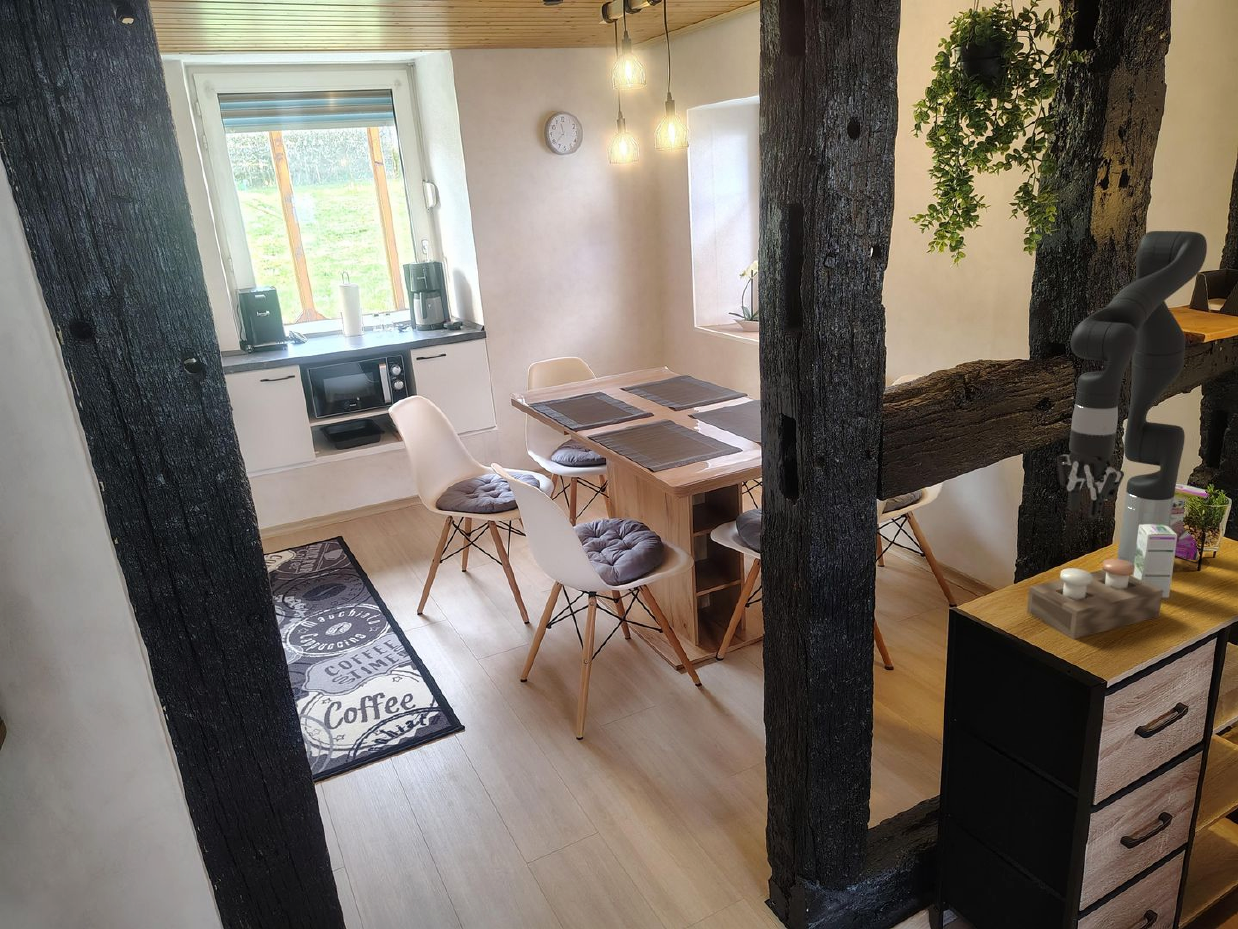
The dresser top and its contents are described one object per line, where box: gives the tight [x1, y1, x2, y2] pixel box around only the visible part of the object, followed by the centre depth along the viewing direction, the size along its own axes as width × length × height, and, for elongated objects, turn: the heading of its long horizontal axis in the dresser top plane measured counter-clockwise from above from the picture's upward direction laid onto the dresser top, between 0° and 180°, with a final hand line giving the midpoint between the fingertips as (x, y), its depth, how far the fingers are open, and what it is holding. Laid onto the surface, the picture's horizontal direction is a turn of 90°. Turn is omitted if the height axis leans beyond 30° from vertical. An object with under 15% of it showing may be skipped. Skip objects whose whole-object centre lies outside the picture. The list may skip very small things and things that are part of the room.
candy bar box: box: [1170, 482, 1211, 560], centre depth 199 cm, size 11×5×16 cm, turn 33°
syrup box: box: [1132, 524, 1177, 599], centre depth 182 cm, size 6×6×14 cm
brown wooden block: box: [1026, 569, 1163, 640], centre depth 175 cm, size 22×12×6 cm, turn 109°
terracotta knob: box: [1102, 558, 1135, 590], centre depth 175 cm, size 6×6×7 cm
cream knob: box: [1059, 567, 1092, 601], centre depth 172 cm, size 6×6×7 cm
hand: (1083, 512), depth 167 cm, fingers open, 4 cm apart
